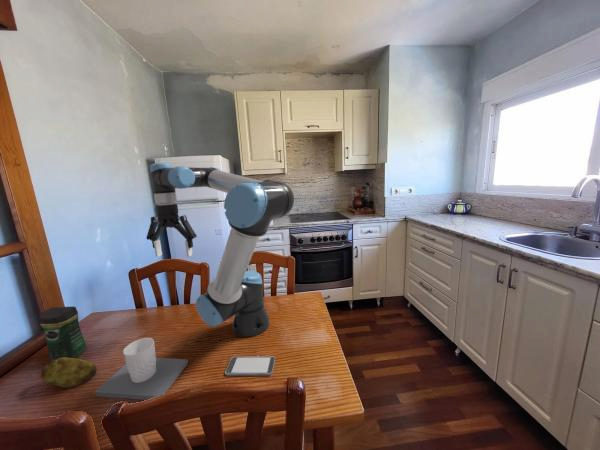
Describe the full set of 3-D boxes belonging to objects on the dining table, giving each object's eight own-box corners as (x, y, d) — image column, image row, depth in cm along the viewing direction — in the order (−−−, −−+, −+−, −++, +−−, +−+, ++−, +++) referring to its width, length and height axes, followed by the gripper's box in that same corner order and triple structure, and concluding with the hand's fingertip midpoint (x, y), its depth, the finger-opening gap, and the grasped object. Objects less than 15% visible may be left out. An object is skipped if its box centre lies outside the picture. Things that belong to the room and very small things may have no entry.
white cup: (138, 366, 79) (133, 338, 77) (163, 363, 79) (158, 336, 77) (123, 386, 71) (116, 356, 69) (150, 383, 72) (145, 353, 70)
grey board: (187, 363, 81) (187, 359, 81) (159, 401, 67) (158, 396, 67) (134, 360, 84) (133, 356, 83) (96, 396, 70) (95, 391, 70)
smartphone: (231, 356, 82) (275, 356, 81) (232, 359, 82) (275, 359, 82) (224, 374, 75) (271, 373, 74) (224, 376, 75) (272, 376, 74)
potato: (75, 395, 70) (68, 372, 69) (38, 391, 72) (32, 368, 71) (101, 373, 79) (96, 351, 77) (68, 370, 80) (63, 349, 79)
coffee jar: (91, 347, 92) (81, 302, 88) (71, 362, 84) (59, 314, 80) (67, 347, 92) (55, 303, 88) (45, 363, 84) (31, 315, 81)
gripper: (201, 201, 97) (207, 252, 101) (144, 204, 100) (153, 253, 104) (190, 203, 89) (198, 258, 93) (130, 206, 92) (139, 258, 96)
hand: (174, 255), depth 99 cm, fingers open, 13 cm apart
